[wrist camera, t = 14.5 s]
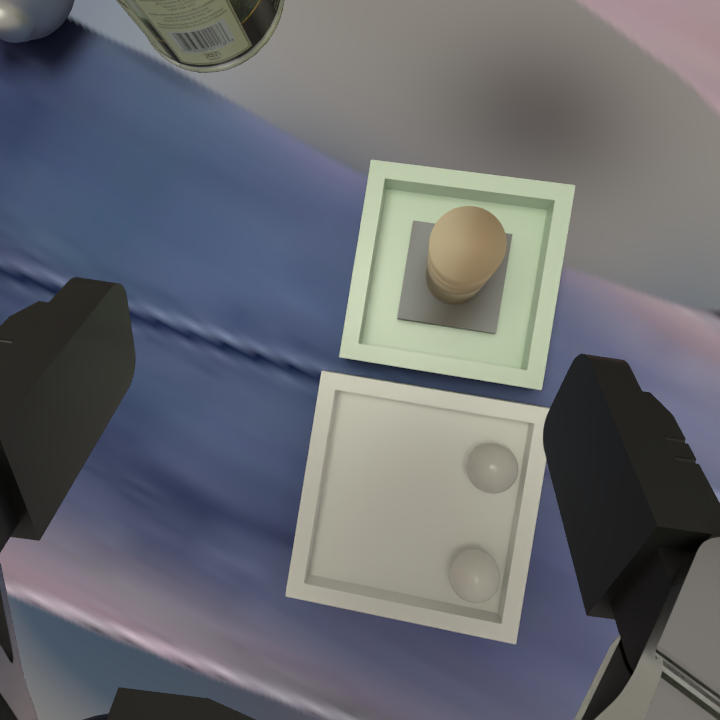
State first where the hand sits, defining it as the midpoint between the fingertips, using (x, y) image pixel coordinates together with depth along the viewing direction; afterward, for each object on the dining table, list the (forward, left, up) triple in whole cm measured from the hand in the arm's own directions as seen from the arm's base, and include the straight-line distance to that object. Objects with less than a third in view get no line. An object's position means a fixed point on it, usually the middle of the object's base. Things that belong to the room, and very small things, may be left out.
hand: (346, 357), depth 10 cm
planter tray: (+3, +6, -26) cm, 27 cm away
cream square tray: (+3, -8, -26) cm, 28 cm away
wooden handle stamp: (+3, +6, -25) cm, 26 cm away
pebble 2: (+7, -12, -24) cm, 27 cm away
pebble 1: (+7, -5, -24) cm, 25 cm away
